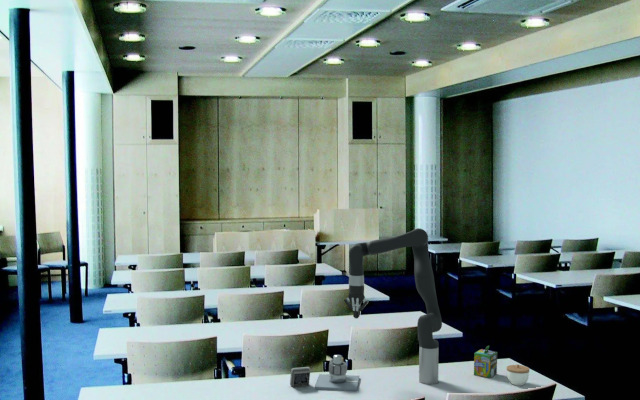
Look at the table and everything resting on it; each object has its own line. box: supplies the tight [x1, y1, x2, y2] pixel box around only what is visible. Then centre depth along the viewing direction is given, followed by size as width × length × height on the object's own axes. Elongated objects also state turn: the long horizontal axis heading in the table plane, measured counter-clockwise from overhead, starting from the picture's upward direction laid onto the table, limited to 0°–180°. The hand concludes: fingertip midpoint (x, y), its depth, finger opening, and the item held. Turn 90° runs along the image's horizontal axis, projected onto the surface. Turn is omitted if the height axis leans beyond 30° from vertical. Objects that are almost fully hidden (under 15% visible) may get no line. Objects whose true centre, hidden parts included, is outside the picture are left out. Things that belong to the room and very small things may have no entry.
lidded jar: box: [506, 364, 530, 387], centre depth 348 cm, size 11×11×9 cm
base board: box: [314, 358, 360, 392], centre depth 347 cm, size 20×20×10 cm
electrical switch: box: [289, 366, 311, 388], centre depth 343 cm, size 9×5×9 cm, turn 107°
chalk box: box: [473, 345, 498, 379], centre depth 362 cm, size 9×9×15 cm
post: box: [328, 354, 347, 384], centre depth 347 cm, size 8×8×12 cm
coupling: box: [328, 356, 348, 374], centre depth 350 cm, size 16×8×4 cm, turn 173°
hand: (356, 318), depth 359 cm, fingers closed
